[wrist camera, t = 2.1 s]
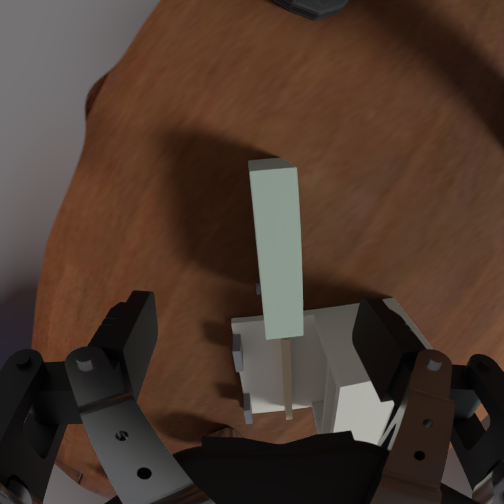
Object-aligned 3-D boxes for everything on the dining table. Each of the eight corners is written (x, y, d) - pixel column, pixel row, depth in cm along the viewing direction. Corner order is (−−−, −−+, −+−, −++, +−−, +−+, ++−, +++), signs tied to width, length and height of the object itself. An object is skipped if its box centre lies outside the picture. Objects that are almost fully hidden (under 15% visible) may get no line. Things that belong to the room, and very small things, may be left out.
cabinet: (393, 297, 33) (442, 361, 22) (375, 389, 39) (402, 451, 28) (231, 318, 33) (227, 400, 22) (247, 408, 39) (248, 479, 28)
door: (280, 157, 27) (296, 167, 19) (288, 283, 32) (303, 335, 24) (243, 160, 27) (243, 172, 19) (256, 287, 32) (261, 340, 24)
